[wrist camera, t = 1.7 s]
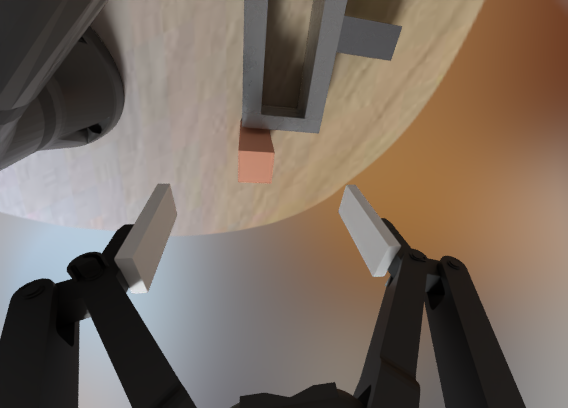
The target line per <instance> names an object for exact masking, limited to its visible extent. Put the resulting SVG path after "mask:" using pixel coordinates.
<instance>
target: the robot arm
mask: <svg viewBox="0 0 568 408" xmlns="http://www.w3.org/2000/svg"><path fill="white" fill-rule="evenodd" d="M107 1H108V0H0V171H1V170H3V169H4V168H6V167H8V166H10V165H12V164H14V163H16V162H18V161H19V160H21V159H23V158H25V157H27V156H29V155H30V154H32V153H34V152H36V151H40V150H50V149H60V148H71V147H78V146H83V145H86V144H89V143H92V142H94V141H96V140H98V139H99V138H101V137H102V136H104V135H105V134H107V133H108V132H110V131H111V130H112V129H113V128H114V127H115V125H116V124H117V123H118V121H119V119H120V117H121V114H122V110H123V104H124V93H123V86H122V81H121V78H120V75H119V72H118V69H117V67H116V65H115V62H114V60H113V58H112V56H111V55H110V53H109V51H108V50H107V48H106V47H105V45H104V44H103V42H102V41H101V39H100V38H99V37H98V35H97V34H96V33H95V32H94V30H93V29H92V28H91V27H90V24H91V23H92V21H93V20H94V19H95V17H96V16H97V15H98V13H99V12H100V11H101V9H102V8H103V7H104V5H105V4H106V3H107ZM339 214H340V216H341V218H342V220H343V222H344V223H345V225H346V227H347V229H348V231H349V233H350V235H351V236H352V238H353V240H354V242H355V244H356V246H357V248H358V250H359V251H360V253H361V255H362V257H363V259H364V261H365V263H366V264H367V266H368V268H369V270H370V272H371V274H372V276H373V277H379V276H385V274H386V272H387V270H388V271H389V273H390V274H391V276H390V278H389V279H388V281H387V282H386V284H385V286H387V287H386V290H385V294H384V297H383V301H382V304H381V308H380V311H379V315H378V318H377V322H376V325H375V329H374V332H373V336H372V339H371V343H370V346H369V350H368V353H367V357H366V360H365V364H364V367H363V371H362V374H361V377H360V380H359V383H358V385H357V387H356V390H355V392H354V395H353V396H352V395H351V394H349V393H347V392H345V391H343V390H340V389H337V388H336V384H335V382H333V383H326V384H320V385H313V386H311V387H309V388H308V389H305V390H303V391H302V392H300V393H298V394H296V395H294V396H292V397H285V396H279V395H274V394H268V393H259V394H253V395H246V396H240V402H239V403H238V404H236V405H234V406H232V407H231V408H419V400H420V385H419V383H418V382H417V381H416V368H417V359H418V351H419V342H420V332H421V324H422V315H423V306H424V302H425V307H426V312H427V317H428V322H429V327H430V332H431V337H432V342H433V347H434V352H435V357H436V362H437V367H438V372H439V377H440V382H441V387H442V392H443V397H444V402H445V407H446V408H526V407H525V404H524V402H523V399H522V397H521V395H520V392H519V390H518V388H517V385H516V383H515V381H514V379H513V376H512V374H511V371H510V369H509V367H508V364H507V362H506V359H505V357H504V355H503V353H502V350H501V348H500V345H499V343H498V341H497V338H496V336H495V334H494V331H493V329H492V327H491V324H490V322H489V320H488V317H487V315H486V312H485V310H484V308H483V306H482V303H481V301H480V299H479V296H478V294H477V291H476V289H475V287H474V284H473V282H472V280H471V277H470V275H469V273H468V270H467V268H466V266H465V265H464V264H463V263H462V262H461V261H459V260H458V259H456V258H454V257H451V256H444V257H442V258H441V260H440V261H438V260H433V259H428V258H427V257H426V255H424V254H423V253H422V252H420V251H418V250H416V249H411V248H410V246H409V245H408V243H407V242H406V241H405V240H404V239H403V237H402V236H401V235H400V234H399V232H398V231H397V230H396V229H395V227H394V226H393V224H392V223H390V222H389V221H388V220H387V219H385V218H380V217H379V216H378V215H377V213H376V212H375V210H374V209H373V208H372V206H371V205H370V204H369V202H368V201H367V200H366V198H365V197H364V196H363V195H362V193H361V192H360V190H359V189H358V188H357V186H356V185H346V188H345V191H344V195H343V198H342V201H341V205H340V208H339ZM176 217H177V211H176V207H175V203H174V199H173V195H172V190H171V186H170V184H158V185H157V186H156V188H155V190H154V192H153V193H152V195H151V197H150V198H149V200H148V202H147V204H146V205H145V207H144V209H143V210H142V212H141V214H140V215H139V217H138V219H137V221H136V222H135V224H127V225H123V226H122V227H121V228H120V229H118V230H117V231H116V233H115V234H114V236H113V237H112V239H111V241H110V242H109V244H108V245H107V247H106V248H105V250H104V251H103V253H102V254H101V253H99V252H89V253H85V254H82V255H80V256H78V257H76V258H75V259H74V260H72V261H71V262H70V263H69V265H68V267H67V272H68V273H69V275H70V276H71V278H72V279H70V280H66V281H63V282H59V283H56V284H55V283H54V282H53V281H51V280H50V279H38V280H34V281H32V282H29V283H27V284H25V285H24V286H22V287H21V288H19V289H18V290H17V291H16V292H15V293H14V294H13V296H12V298H11V300H10V304H9V308H8V312H7V315H6V319H5V323H4V327H3V331H2V335H1V338H0V408H78V384H79V382H78V381H79V321H80V320H83V319H86V318H89V317H91V318H92V320H93V322H94V325H95V327H96V329H97V331H98V333H99V336H100V338H101V340H102V342H103V344H104V347H105V349H106V351H107V353H108V355H109V358H110V359H111V362H112V364H113V366H114V369H115V371H116V373H117V375H118V377H119V379H120V381H121V384H122V386H123V388H124V391H125V393H126V395H127V397H128V399H129V402H130V404H131V406H132V408H197V407H196V406H195V404H194V402H193V401H192V399H191V398H190V396H189V394H188V393H187V391H186V390H185V388H184V386H183V385H182V384H181V382H180V381H179V379H178V377H177V376H176V374H175V372H174V371H173V369H172V367H171V366H170V364H169V363H168V361H167V359H166V358H165V356H164V354H163V353H162V351H161V349H160V348H159V346H158V345H157V343H156V341H155V340H154V338H153V336H152V335H151V333H150V332H149V330H148V328H147V327H146V325H145V323H144V322H143V320H142V319H141V317H140V315H139V314H138V312H137V310H136V309H135V307H134V306H133V304H132V302H131V300H130V299H129V297H128V296H127V294H126V292H127V290H128V288H130V290H131V292H132V293H146V292H148V291H149V288H150V285H151V283H152V280H153V277H154V274H155V272H156V269H157V267H158V264H159V262H160V259H161V256H162V254H163V251H164V248H165V246H166V243H167V240H168V238H169V235H170V232H171V230H172V227H173V225H174V222H175V219H176Z"/></svg>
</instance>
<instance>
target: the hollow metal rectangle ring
mask: <svg viewBox="0 0 568 408" xmlns="http://www.w3.org/2000/svg"><path fill="white" fill-rule="evenodd" d="M346 4H347V0H313V5H312V11H311V18H310V25H309V31H308V38H307V45H306V52H305V58H304V65H303V72H302V78H301V85H300V92H299V99H298V105H297V108H289V107H279V106H269V105H262V89H263V73H264V57H265V41H266V25H267V10H268V0H244V50H243V106H242V127H248V128H260V129H272V130H284V131H296V132H308V133H319V130H320V126H321V121H322V116H323V112H324V107H325V102H326V98H327V93H328V88H329V84H330V79H331V74H332V70H333V65H334V60H335V56H336V52H337V53H344V54H350V55H357V56H363V57H369V58H375V59H383V60H390V61H391V59H392V56H393V53H394V50H395V47H396V44H397V41H398V38H399V35H400V32H401V29H402V26H397V25H392V24H386V23H381V22H376V21H370V20H365V19H359V18H354V17H349V16H344V14H345V9H346Z"/></svg>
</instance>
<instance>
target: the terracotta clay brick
mask: <svg viewBox="0 0 568 408" xmlns="http://www.w3.org/2000/svg"><path fill="white" fill-rule="evenodd" d="M274 154H275V152H274V148H273V144H272V140H271V136H270V132H269V129H260V128H248V127H242V121H241V125H240V138H239V155H238V182H247V183H271V182H272V173H273V163H274Z"/></svg>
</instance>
